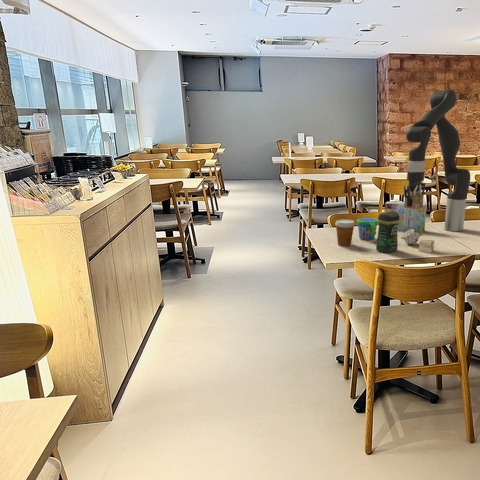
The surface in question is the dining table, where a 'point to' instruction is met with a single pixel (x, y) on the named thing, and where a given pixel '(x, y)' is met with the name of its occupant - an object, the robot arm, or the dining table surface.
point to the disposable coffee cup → (344, 231)
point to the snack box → (408, 216)
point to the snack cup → (367, 228)
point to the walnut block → (415, 201)
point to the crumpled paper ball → (411, 236)
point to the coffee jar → (387, 232)
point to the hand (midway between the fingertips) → (413, 205)
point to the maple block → (426, 245)
